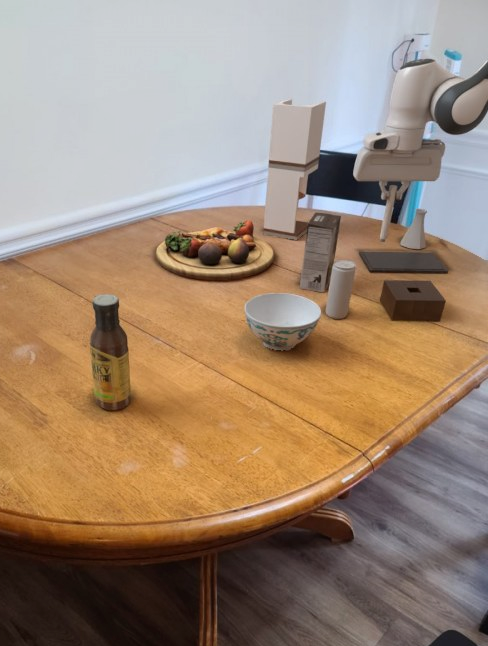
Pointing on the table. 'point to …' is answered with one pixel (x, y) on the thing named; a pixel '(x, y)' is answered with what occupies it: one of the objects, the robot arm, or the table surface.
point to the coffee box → (319, 251)
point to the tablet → (402, 262)
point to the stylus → (388, 213)
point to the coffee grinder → (291, 165)
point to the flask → (415, 232)
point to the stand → (412, 300)
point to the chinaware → (281, 319)
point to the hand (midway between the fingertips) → (390, 199)
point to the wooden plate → (215, 253)
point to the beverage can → (340, 289)
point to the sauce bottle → (109, 355)
